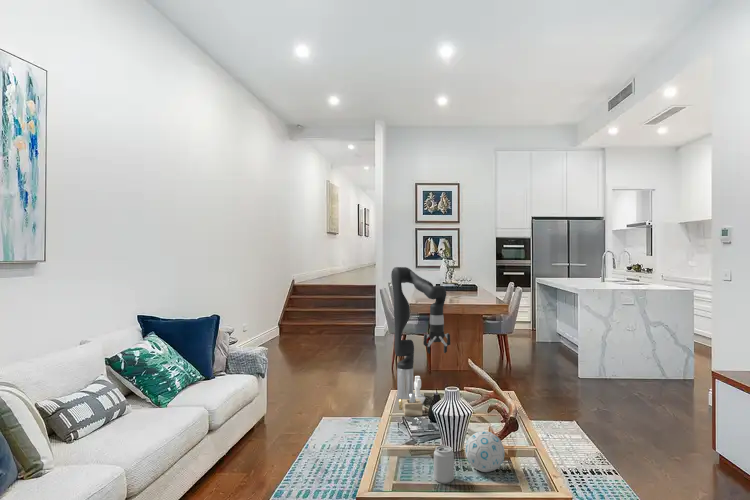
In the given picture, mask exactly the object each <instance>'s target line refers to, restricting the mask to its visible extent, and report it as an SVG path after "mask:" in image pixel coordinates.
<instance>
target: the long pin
mask: <svg viewBox="0 0 750 500" xmlns="http://www.w3.org/2000/svg"><path fill="white" fill-rule="evenodd" d="M409 403H415V392H413V393H410V394H409Z"/></svg>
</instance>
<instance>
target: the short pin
mask: <svg viewBox="0 0 750 500" xmlns="http://www.w3.org/2000/svg"><path fill="white" fill-rule="evenodd" d="M398 409H399V410H401V411H402V399H399V398H398Z"/></svg>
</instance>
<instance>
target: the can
mask: <svg viewBox="0 0 750 500" xmlns="http://www.w3.org/2000/svg"><path fill="white" fill-rule="evenodd" d="M433 478H434V480H436V481H437V482H438V483H440V484H450V483H451V482H452V481H453V480H454V479H455V453H454V451H453V449H452V447H451V446H448V445H438V446H436V447H435V449H434V452H433Z"/></svg>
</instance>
